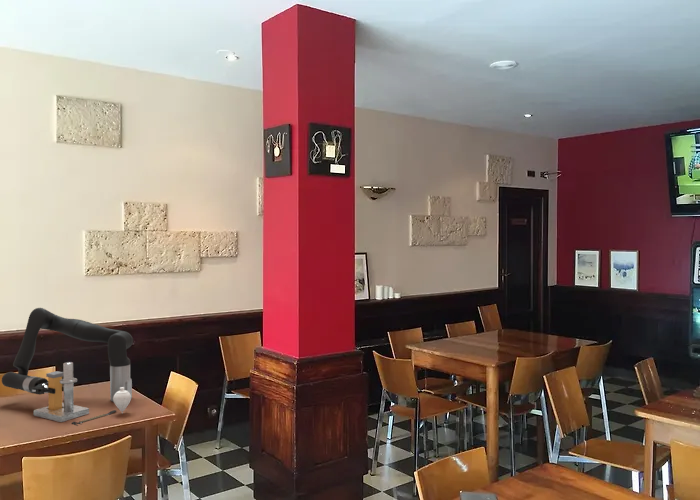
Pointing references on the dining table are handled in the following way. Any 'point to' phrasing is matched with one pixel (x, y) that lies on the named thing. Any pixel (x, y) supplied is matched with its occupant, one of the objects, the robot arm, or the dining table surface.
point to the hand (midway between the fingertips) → (59, 390)
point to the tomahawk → (94, 418)
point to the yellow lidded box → (54, 382)
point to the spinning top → (122, 399)
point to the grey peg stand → (68, 406)
